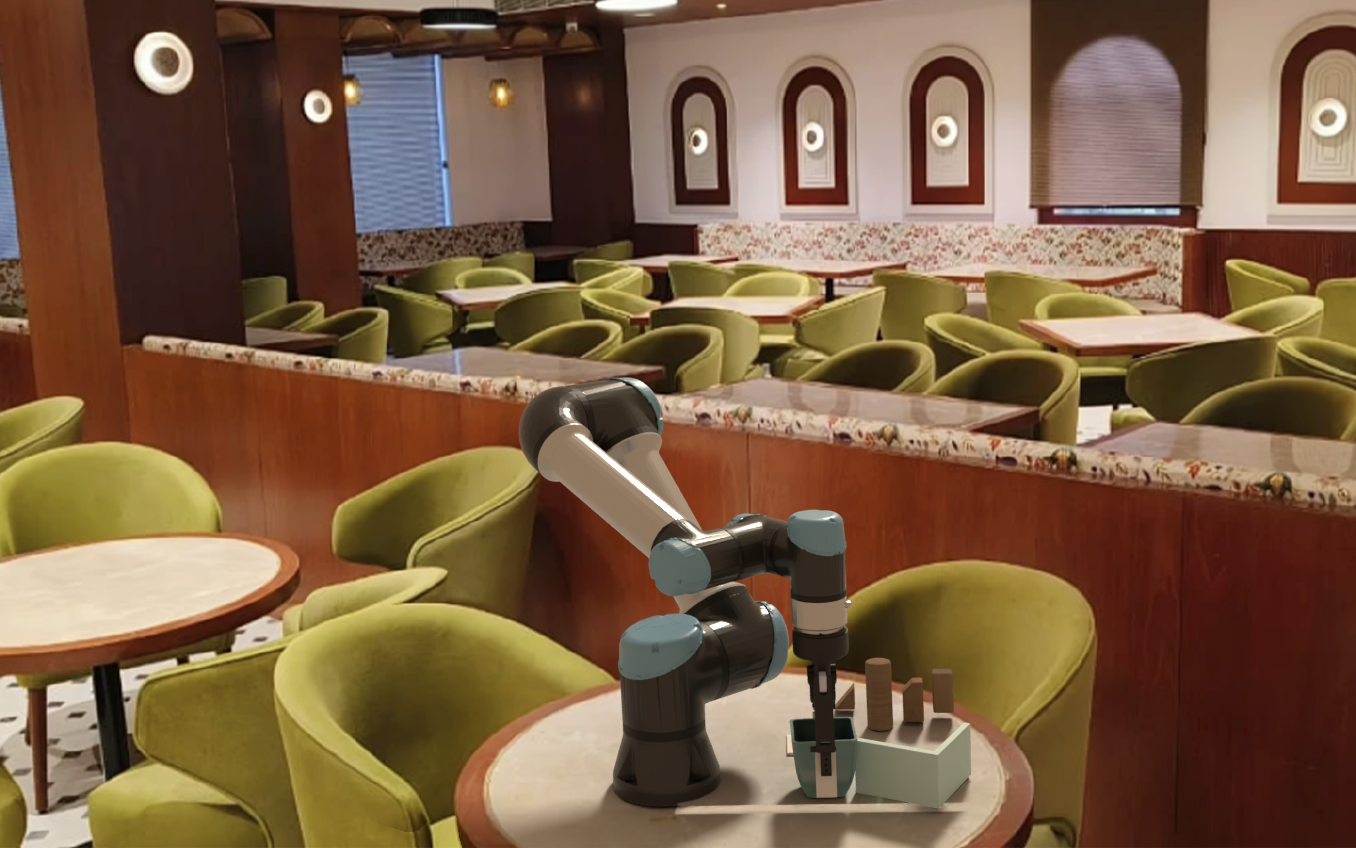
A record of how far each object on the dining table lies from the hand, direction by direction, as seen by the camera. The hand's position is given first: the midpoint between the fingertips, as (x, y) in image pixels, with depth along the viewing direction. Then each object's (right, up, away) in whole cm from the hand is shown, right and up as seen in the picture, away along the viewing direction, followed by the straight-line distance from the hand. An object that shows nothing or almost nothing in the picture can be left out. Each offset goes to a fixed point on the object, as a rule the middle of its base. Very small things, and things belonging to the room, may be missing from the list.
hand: (825, 776), depth 199 cm
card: (+1, +1, +16) cm, 16 cm away
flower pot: (0, -2, +1) cm, 2 cm away
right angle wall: (+12, -2, +2) cm, 13 cm away
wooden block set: (+13, +2, +24) cm, 27 cm away
